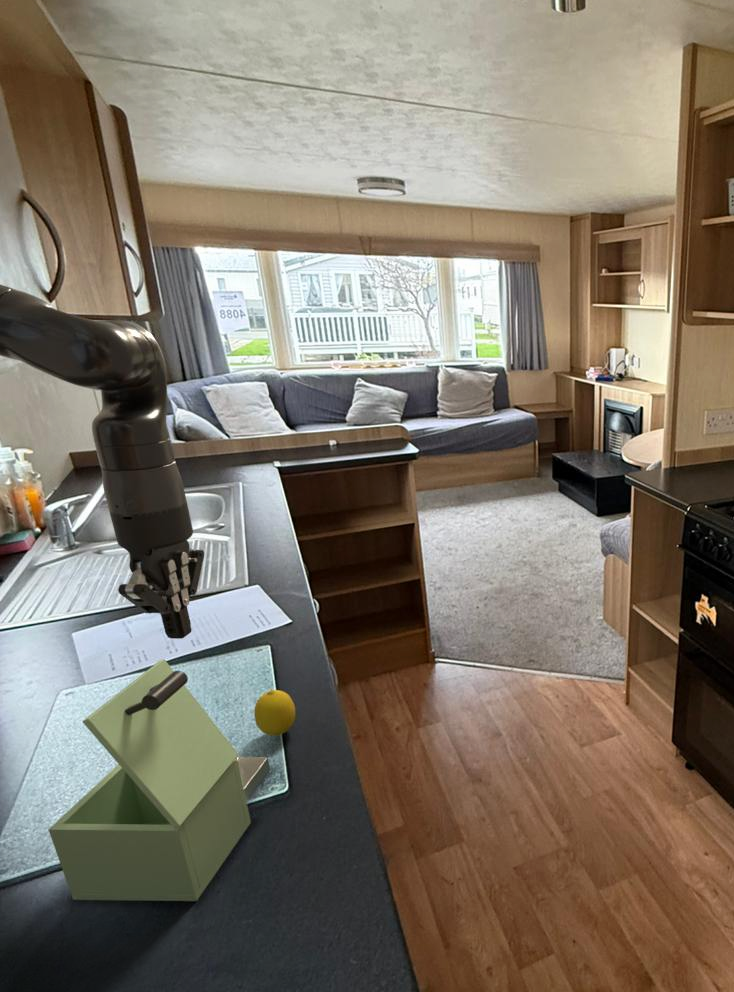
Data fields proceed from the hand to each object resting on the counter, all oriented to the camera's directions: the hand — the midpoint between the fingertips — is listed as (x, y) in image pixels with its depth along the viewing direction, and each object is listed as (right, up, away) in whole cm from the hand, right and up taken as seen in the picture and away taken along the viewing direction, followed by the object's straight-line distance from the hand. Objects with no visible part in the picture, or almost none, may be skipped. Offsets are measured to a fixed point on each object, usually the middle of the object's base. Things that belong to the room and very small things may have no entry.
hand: (179, 635), depth 81 cm
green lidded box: (+1, -26, -3) cm, 26 cm away
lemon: (+3, -18, +19) cm, 27 cm away
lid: (+4, -10, -9) cm, 14 cm away
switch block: (0, -22, +8) cm, 24 cm away
